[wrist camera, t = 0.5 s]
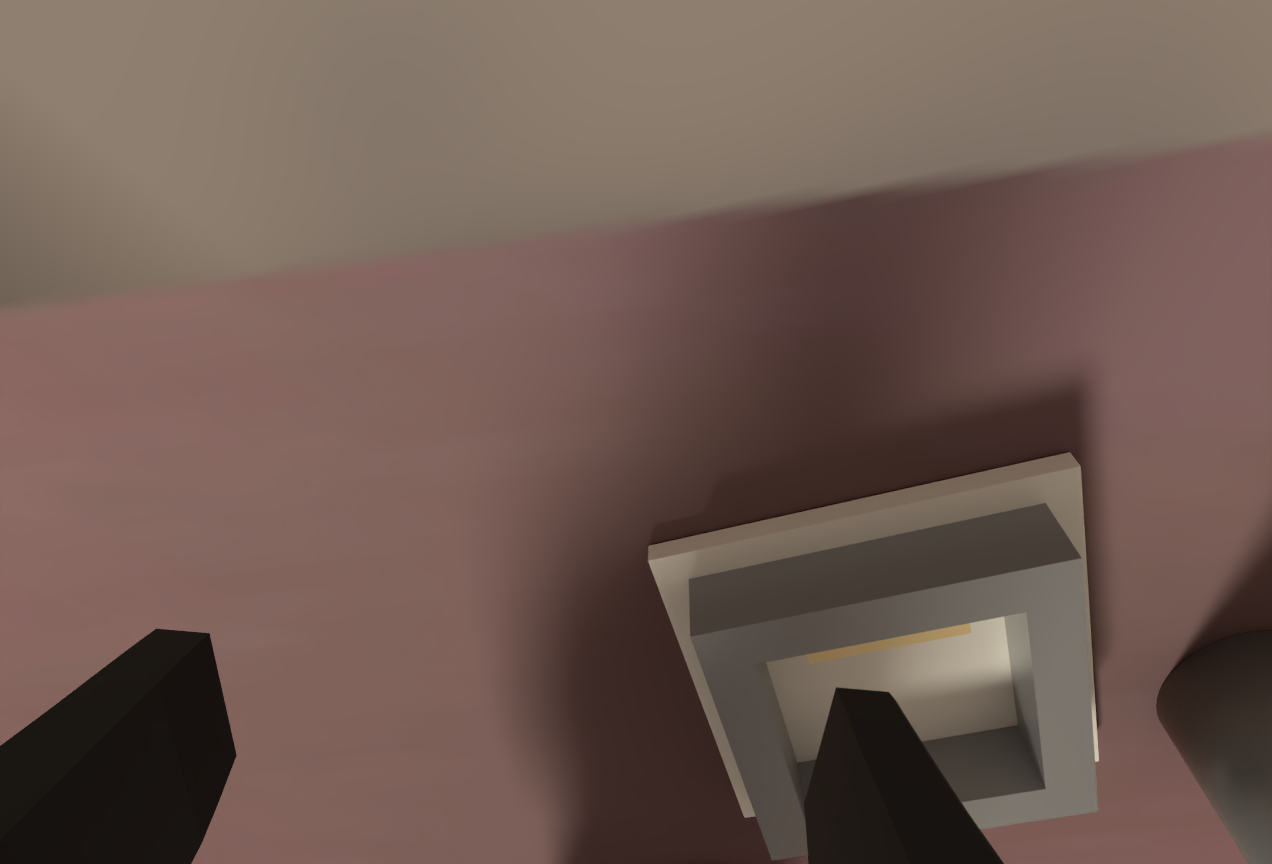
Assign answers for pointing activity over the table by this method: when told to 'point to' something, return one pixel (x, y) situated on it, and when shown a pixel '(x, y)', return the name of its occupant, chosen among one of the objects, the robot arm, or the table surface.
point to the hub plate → (900, 639)
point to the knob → (1228, 733)
